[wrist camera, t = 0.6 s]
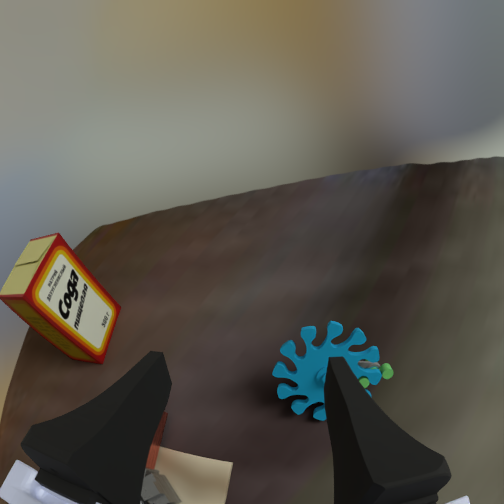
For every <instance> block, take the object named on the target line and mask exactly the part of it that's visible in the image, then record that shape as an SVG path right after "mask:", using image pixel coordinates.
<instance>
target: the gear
mask: <svg viewBox="0 0 504 504" xmlns="http://www.w3.org/2000/svg"><path fill="white" fill-rule="evenodd" d="M327 328H328V333H327V337H326V339H325V340H324V342H323V343H322V344H321V345H320V346H318V347H315V346H313V345H312V344H311V342H312V341H313V339H314V338H315V336H316V328H315V326H307V327H303V328H302V329H301V337H302V338H303V340H304V341H305V343H306V347H307V352H306V354H305V355H304V356H301V357H300V356H297V355H296V353H295V348H296V345H295V343H294V342H293V341H292V340H289V341H287V342H286V343H284V344H283V345H282V346H281V348H280V352H281V353H282V354H283V355H284V356H287V357H288V358H290V359H291V360H292V361H293V362H294V363H295V365H296V367H297V370H296V371H293V372H292V371H289V370H288V369H287V367H286V365H285V364H284V363H283V362H280V361H278V362H277V363H276V365H275V367H274V370H273V373H272V375H273V376H274V377H277V378H280V377H283V378H288V379H291V380H293V381H294V382H296V383H297V384H298V386H297V387H291V386H289V385H287V384H285V383H281V384H279V386H278V389H277V393H278V397H279V398H280V399H285V398H287V397H289V396H292V395H306V396H307V397H308V399H306V400H294V401H293V402H292V406H291V408H292V410H293V411H294V412H295V413H296V414H298V415H299V414H302V413H303V412H304V410H305V409H306V408H307V407H308V406H310V405H311V404H314V403H316V402H323V403H324V384H325V378H326V372H327V365H328V359H329V357H341V356H343V357H344V358H345V359H346V361H347V363H348V365H349V366H350V368H351V370H352V371H353V373H354V374H355V376H356V377H357V379H358V380H359V382H360V383H361V384H362V386H363V387H364V388H366V387H367V386H368V385H369V382H370V383H371V384H372V385H377V384H378V382H379V381H380V379H381V377H382V376H383V378H385V379H389V378H391V377H392V376H393V370H392V369H391V367H390V365H389V364H387V363H385V364H383V365H382V366H381V367H380V365H379V363H377V362H378V361H379V351H378V348H377V347H376V346H372V347H370V348H368V349H367V350H365V351H362V352H350V351H348V348H349V347H350V346H351V345H361V344H363V343H365V341H366V337H365V335H364V333H363V332H362V331H361V330H360V329H359V328H356V329H354V330H353V332H352V334H351V335H350V337H349V338H348V339H347V340H346V341H344V342H342V343H340V344H338V345H333V344H332V343H331V340H332V339H333V338H334V337H337V336H339V335H340V334H341V333H342V331H343V327H342V325H341V324H340V323H338V322H334V321H330V322H329V323H328V326H327ZM361 359H365V361H360V360H361ZM365 390H366V389H365ZM366 391H367V393H368V394H369V395H370V397H371V394H370V392H369V391H368V390H366ZM313 417H314V418H315V419H318V420H322V421H324V420H325V419H326V413H325V404H324V405H322V406H320V407H317V408H315V410H314V414H313Z"/></svg>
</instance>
